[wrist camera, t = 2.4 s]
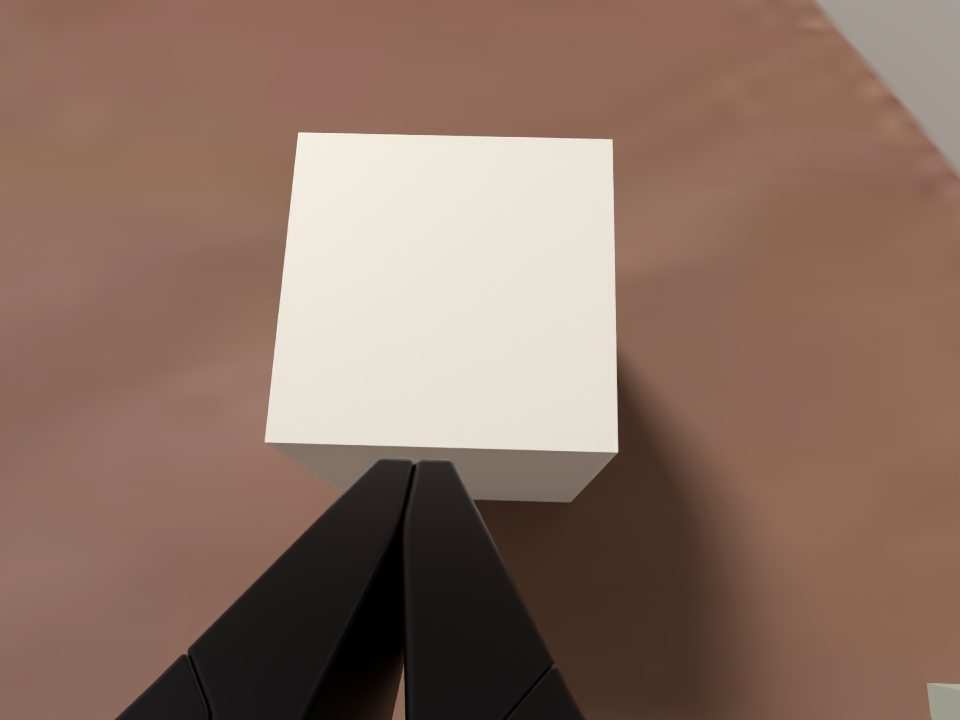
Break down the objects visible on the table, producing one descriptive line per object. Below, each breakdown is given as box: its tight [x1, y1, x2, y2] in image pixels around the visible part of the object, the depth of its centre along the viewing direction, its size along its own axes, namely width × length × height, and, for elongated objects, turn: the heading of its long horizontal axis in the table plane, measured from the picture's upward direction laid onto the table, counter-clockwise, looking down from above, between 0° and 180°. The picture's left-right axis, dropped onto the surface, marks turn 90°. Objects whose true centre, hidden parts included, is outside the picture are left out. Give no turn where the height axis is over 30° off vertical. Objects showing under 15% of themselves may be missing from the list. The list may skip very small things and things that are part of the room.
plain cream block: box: [265, 133, 618, 502], centre depth 18 cm, size 6×6×8 cm
